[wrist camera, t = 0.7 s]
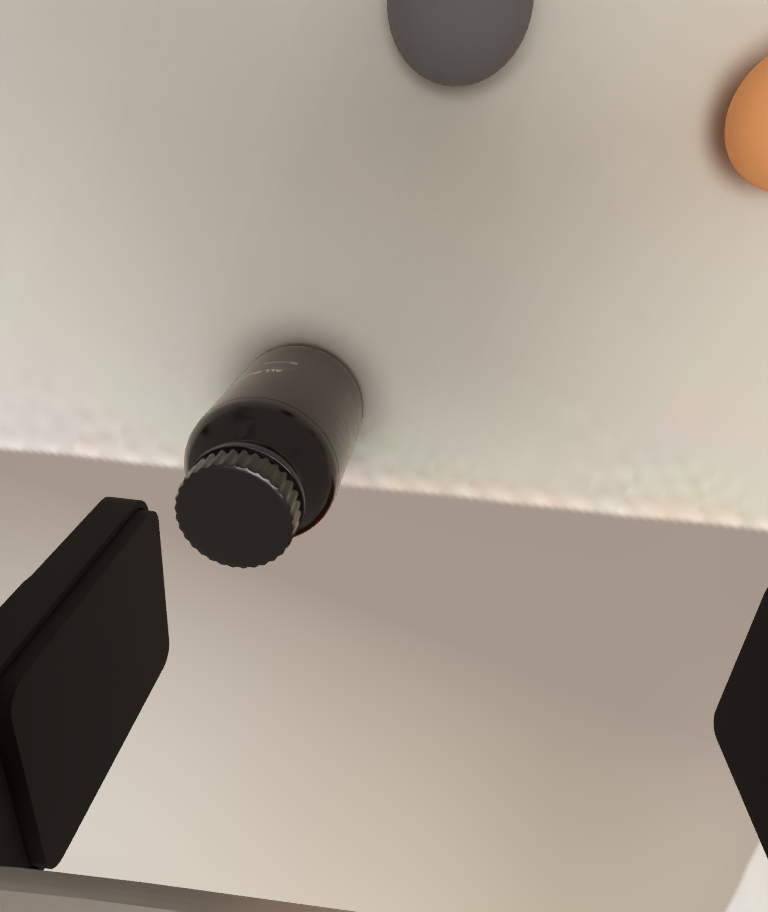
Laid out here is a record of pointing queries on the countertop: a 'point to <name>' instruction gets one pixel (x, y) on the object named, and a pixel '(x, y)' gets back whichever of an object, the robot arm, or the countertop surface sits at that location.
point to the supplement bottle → (268, 456)
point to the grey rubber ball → (458, 36)
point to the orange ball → (750, 127)
